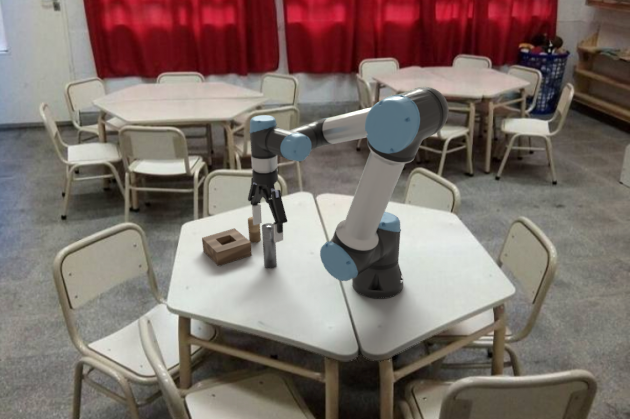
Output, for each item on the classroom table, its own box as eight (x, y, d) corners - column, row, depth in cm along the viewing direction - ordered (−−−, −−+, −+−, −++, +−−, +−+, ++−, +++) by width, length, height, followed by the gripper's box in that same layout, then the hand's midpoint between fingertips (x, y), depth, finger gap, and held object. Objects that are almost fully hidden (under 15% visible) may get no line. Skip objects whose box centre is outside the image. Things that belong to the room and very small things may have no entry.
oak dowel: (262, 240, 191) (261, 219, 187) (252, 243, 189) (251, 222, 185) (257, 235, 194) (256, 215, 190) (247, 239, 192) (245, 218, 188)
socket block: (251, 255, 182) (250, 242, 179) (218, 266, 176) (216, 252, 173) (235, 241, 191) (234, 228, 188) (203, 250, 185) (201, 237, 183)
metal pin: (279, 265, 175) (277, 226, 169) (268, 269, 173) (265, 230, 167) (272, 260, 178) (270, 222, 172) (262, 264, 176) (259, 225, 170)
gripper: (298, 179, 154) (299, 245, 163) (256, 153, 173) (259, 214, 182) (274, 185, 150) (277, 252, 160) (234, 158, 169) (238, 220, 178)
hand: (267, 232), depth 171 cm, fingers open, 13 cm apart
